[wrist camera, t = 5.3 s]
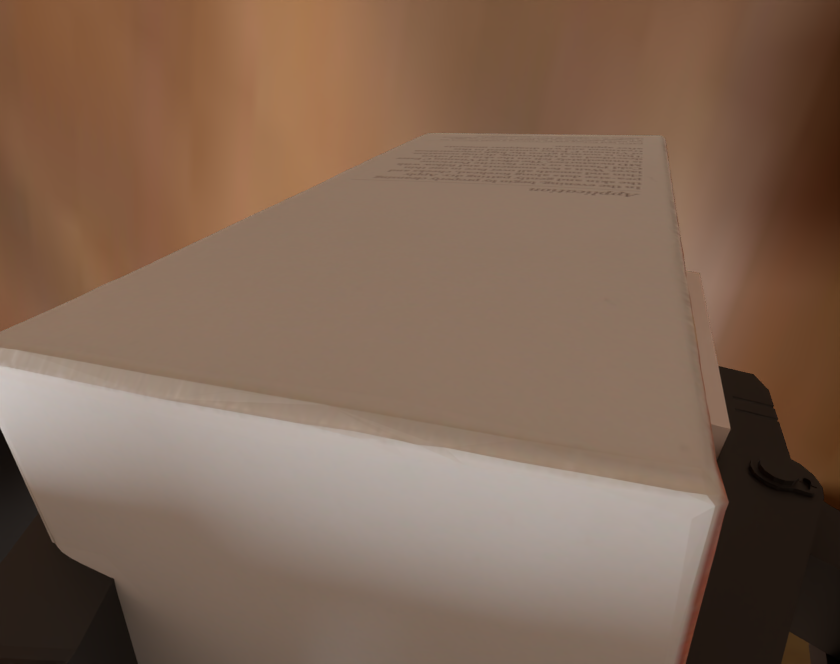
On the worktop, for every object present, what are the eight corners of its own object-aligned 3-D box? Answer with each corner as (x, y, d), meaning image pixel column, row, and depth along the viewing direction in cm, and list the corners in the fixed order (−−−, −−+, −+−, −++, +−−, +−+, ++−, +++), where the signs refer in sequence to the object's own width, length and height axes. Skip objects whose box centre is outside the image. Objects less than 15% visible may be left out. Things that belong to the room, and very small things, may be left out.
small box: (631, 406, 17) (598, 1026, 7) (433, 376, 19) (161, 816, 9) (673, 126, 14) (752, 503, 3) (424, 125, 16) (-73, 348, 5)
